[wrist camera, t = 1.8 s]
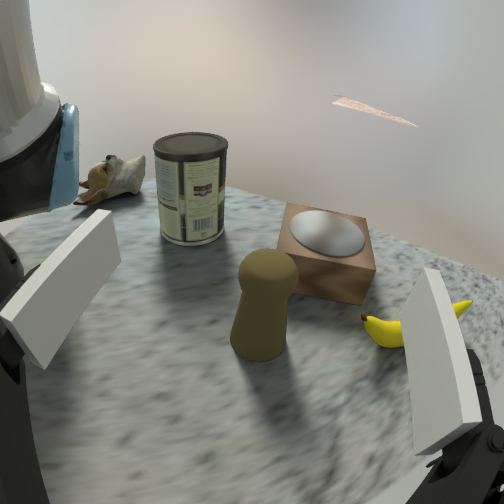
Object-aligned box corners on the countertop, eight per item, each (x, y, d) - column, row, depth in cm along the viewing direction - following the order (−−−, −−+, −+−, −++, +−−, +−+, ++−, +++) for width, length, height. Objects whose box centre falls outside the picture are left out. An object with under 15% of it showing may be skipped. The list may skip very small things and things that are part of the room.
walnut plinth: (269, 288, 39) (276, 248, 35) (281, 236, 48) (287, 200, 44) (360, 305, 37) (377, 268, 33) (355, 250, 47) (366, 216, 43)
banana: (460, 332, 34) (483, 300, 30) (347, 364, 30) (368, 328, 26) (450, 317, 36) (471, 285, 32) (338, 343, 32) (356, 305, 29)
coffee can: (190, 204, 53) (190, 128, 45) (237, 225, 49) (243, 141, 41) (146, 229, 46) (138, 144, 38) (192, 256, 42) (190, 160, 34)
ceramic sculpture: (147, 156, 48) (64, 176, 43) (153, 200, 54) (76, 219, 49) (141, 140, 56) (71, 156, 51) (146, 178, 61) (80, 194, 56)
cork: (289, 360, 30) (313, 285, 23) (230, 362, 30) (235, 285, 23) (281, 317, 35) (299, 239, 28) (229, 317, 34) (233, 237, 28)
